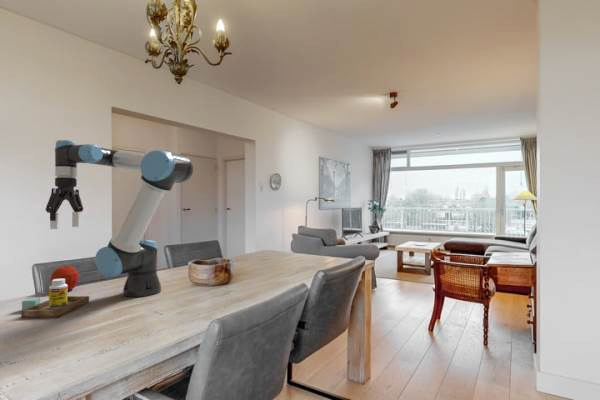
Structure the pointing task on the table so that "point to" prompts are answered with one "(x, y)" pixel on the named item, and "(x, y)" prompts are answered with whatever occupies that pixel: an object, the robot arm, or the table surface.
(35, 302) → the teal block
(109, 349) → the table surface
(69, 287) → the apple
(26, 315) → the tray
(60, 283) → the supplement bottle
